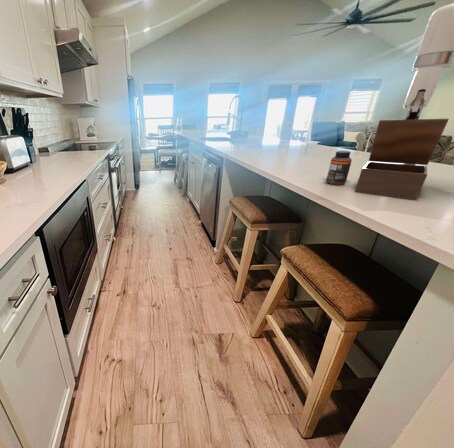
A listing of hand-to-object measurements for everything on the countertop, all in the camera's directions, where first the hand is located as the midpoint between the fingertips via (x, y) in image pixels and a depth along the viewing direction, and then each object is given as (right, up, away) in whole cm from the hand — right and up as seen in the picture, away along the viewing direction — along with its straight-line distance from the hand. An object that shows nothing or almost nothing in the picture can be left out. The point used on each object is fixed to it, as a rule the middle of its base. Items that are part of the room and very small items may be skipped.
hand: (406, 133), depth 73 cm
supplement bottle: (-11, -13, +15) cm, 22 cm away
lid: (0, -3, +1) cm, 3 cm away
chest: (-2, -17, +5) cm, 18 cm away
